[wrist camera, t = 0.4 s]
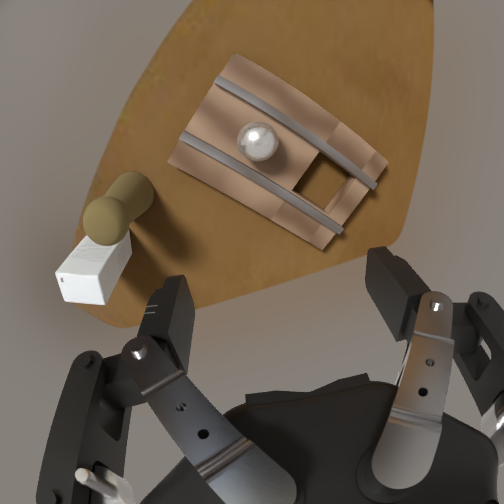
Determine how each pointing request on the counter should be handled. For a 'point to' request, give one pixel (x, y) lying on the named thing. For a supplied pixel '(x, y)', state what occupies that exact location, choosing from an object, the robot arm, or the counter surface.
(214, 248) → the counter surface
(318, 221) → the walnut channel
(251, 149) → the steel ball
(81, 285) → the skincare box
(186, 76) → the counter surface
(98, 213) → the olive knob stopper
